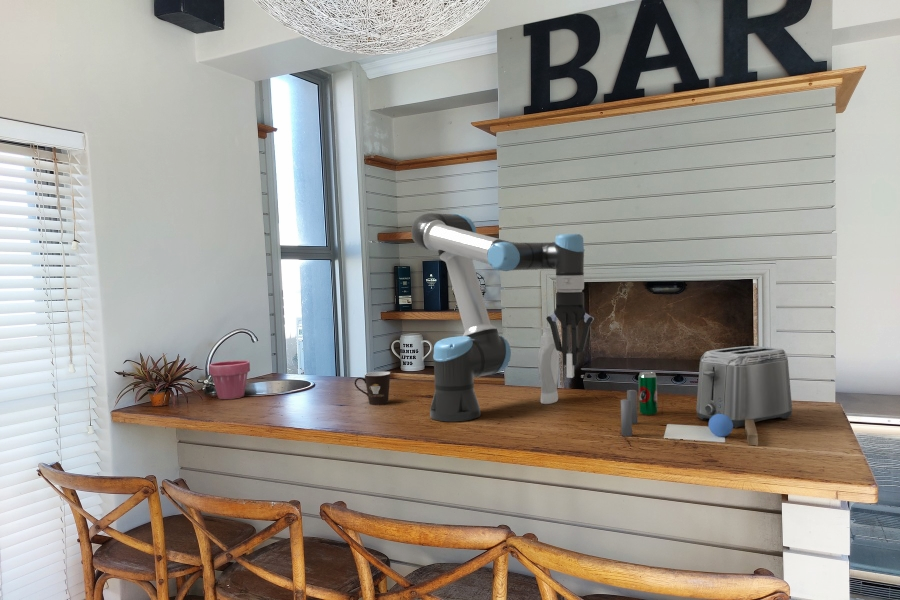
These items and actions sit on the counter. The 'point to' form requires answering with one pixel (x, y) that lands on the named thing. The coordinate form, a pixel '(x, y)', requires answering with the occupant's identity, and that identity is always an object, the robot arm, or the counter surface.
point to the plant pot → (230, 378)
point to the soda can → (647, 393)
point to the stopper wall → (751, 432)
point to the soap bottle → (548, 367)
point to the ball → (720, 425)
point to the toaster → (744, 384)
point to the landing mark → (691, 433)
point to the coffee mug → (376, 387)
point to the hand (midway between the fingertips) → (570, 376)
